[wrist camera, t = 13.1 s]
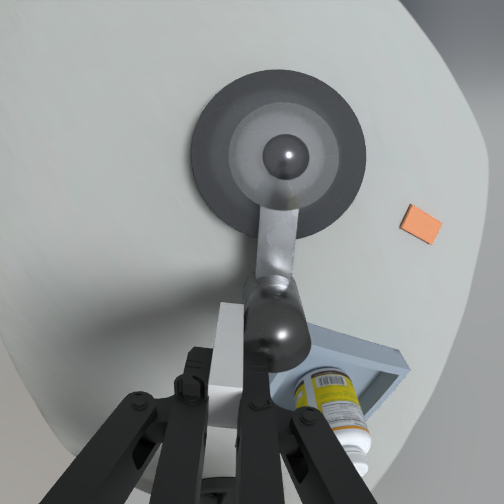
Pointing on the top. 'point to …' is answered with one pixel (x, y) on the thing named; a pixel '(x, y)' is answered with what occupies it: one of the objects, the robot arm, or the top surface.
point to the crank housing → (244, 102)
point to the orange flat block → (421, 224)
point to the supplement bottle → (337, 410)
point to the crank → (280, 219)
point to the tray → (345, 369)
